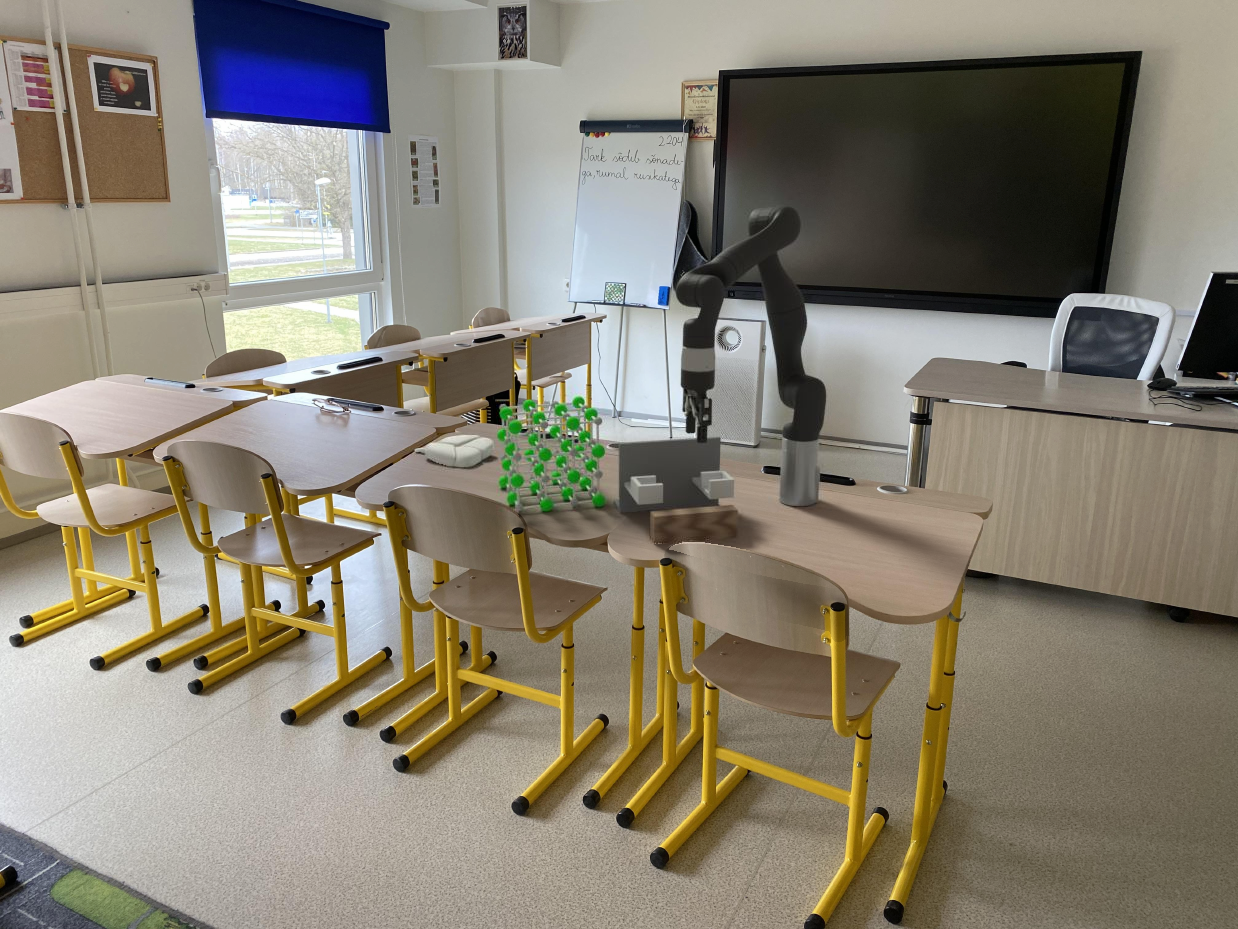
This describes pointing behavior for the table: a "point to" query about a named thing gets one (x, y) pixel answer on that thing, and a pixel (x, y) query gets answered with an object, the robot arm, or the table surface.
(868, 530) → the table surface
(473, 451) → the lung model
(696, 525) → the rail
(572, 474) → the molecular structure model
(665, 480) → the rack
